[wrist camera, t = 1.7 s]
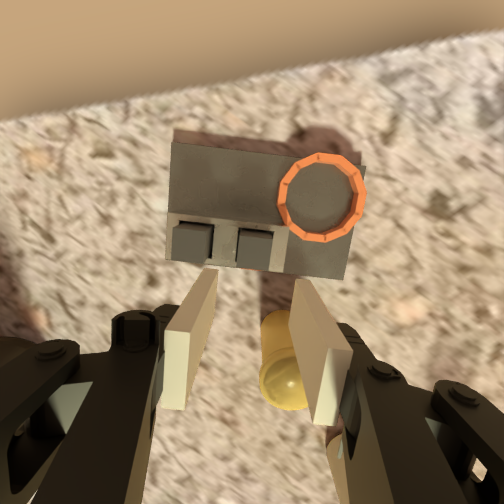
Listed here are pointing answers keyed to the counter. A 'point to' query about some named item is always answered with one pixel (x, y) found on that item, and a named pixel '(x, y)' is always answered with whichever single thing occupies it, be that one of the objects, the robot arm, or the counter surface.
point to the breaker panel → (261, 206)
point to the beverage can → (338, 470)
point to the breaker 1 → (191, 242)
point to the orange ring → (357, 200)
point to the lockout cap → (280, 364)
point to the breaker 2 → (254, 250)
